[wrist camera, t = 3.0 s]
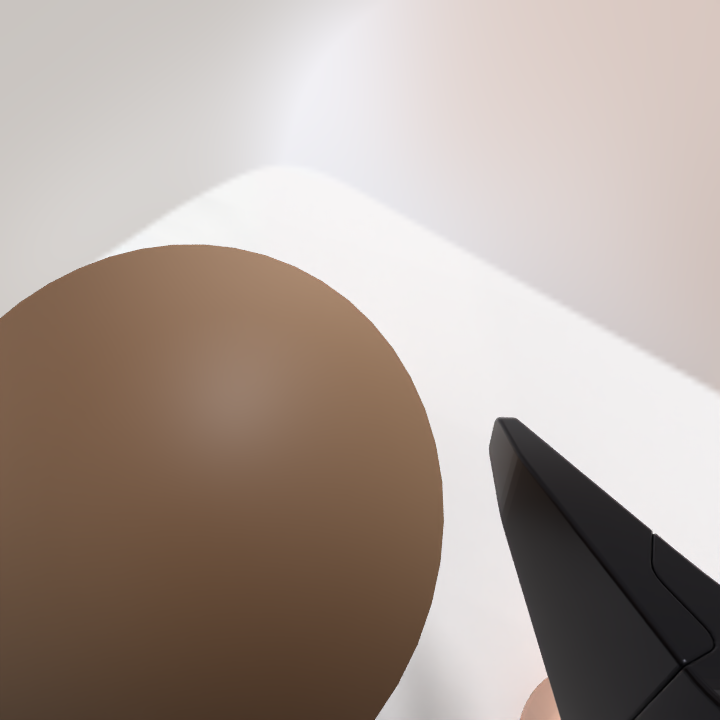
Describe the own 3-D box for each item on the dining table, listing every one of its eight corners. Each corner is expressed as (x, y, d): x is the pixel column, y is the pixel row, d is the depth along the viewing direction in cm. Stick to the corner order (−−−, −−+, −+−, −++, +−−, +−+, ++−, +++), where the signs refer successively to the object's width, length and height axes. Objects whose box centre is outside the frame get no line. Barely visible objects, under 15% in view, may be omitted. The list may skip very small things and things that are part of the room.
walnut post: (330, 553, 15) (138, 1033, 3) (244, 469, 16) (-229, 524, 3) (409, 458, 16) (559, 474, 3) (323, 381, 17) (176, 157, 4)
